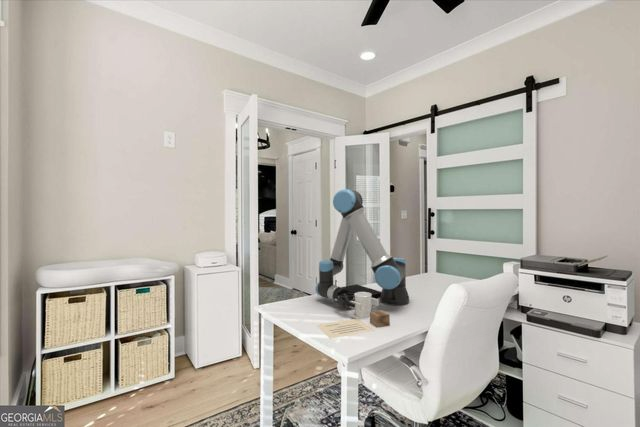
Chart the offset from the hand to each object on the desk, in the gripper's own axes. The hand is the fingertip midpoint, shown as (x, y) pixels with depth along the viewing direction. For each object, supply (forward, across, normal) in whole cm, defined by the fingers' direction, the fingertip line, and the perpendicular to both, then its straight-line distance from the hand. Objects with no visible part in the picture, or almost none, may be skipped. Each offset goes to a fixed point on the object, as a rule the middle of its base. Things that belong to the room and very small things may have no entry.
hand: (369, 304), depth 140 cm
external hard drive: (-30, +23, +7) cm, 39 cm away
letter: (+2, -16, +6) cm, 17 cm away
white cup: (-4, 0, +6) cm, 8 cm away
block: (+8, -2, +6) cm, 10 cm away
